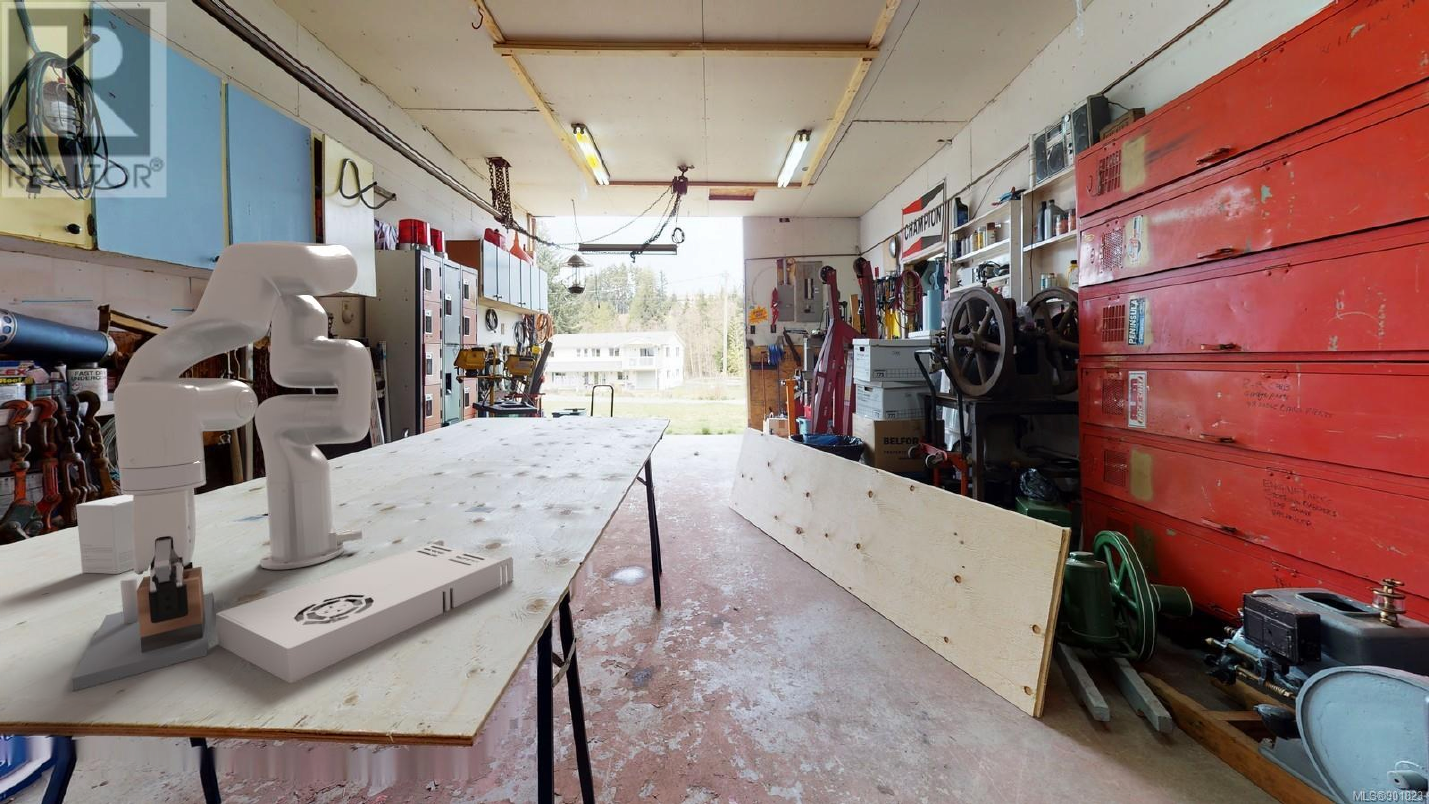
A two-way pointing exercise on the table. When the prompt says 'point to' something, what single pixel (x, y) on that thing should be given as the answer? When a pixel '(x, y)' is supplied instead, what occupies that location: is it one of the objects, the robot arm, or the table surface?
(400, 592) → the power supply unit
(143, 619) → the sleeve
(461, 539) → the table surface
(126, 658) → the pin board
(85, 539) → the supplement box
